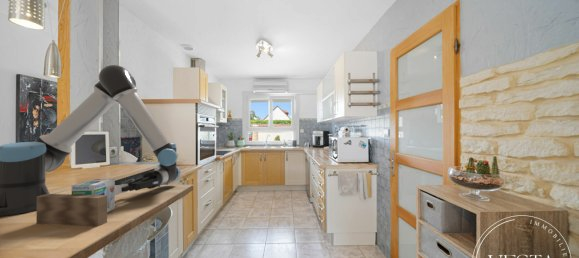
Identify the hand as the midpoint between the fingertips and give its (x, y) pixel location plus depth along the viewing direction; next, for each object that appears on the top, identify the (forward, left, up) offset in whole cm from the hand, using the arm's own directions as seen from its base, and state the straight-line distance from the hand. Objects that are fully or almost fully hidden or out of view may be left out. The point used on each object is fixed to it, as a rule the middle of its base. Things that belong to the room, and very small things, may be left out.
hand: (111, 191), depth 83 cm
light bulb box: (+2, -5, -6) cm, 8 cm away
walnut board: (+6, -12, -6) cm, 14 cm away
